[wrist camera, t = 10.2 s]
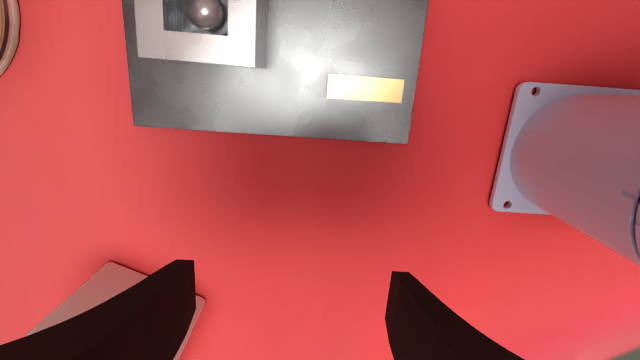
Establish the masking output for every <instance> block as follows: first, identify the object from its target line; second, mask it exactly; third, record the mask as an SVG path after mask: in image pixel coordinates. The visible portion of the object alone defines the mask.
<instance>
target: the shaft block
mask: <svg viewBox="0 0 640 360" xmlns="http://www.w3.org/2000/svg"><path fill="white" fill-rule="evenodd" d="M428 1H429V0H268V16H267V46H266V69H263V68H252V67H240V66H228V65H217V64H205V63H194V62H182V61H171V60H162V59H153V58H144V57H138V48H137V34H136V21H135V7H134V0H122V7H123V18H124V28H125V39H126V50H127V60H128V71H129V81H130V92H131V102H132V113H133V124H134V126H144V127H159V128H174V129H189V130H204V131H219V132H234V133H249V134H264V135H279V136H294V137H309V138H324V139H339V140H354V141H369V142H384V143H399V144H407V143H408V137H409V130H410V123H411V116H412V109H413V103H414V96H415V89H416V82H417V76H418V69H419V62H420V55H421V49H422V42H423V35H424V28H425V21H426V15H427V8H428ZM184 11H185V14H186V17H187V19H188V20H189V21H190V22H191V23H192V33H200V34H211V35H222V36H228V0H185V3H184Z"/></svg>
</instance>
